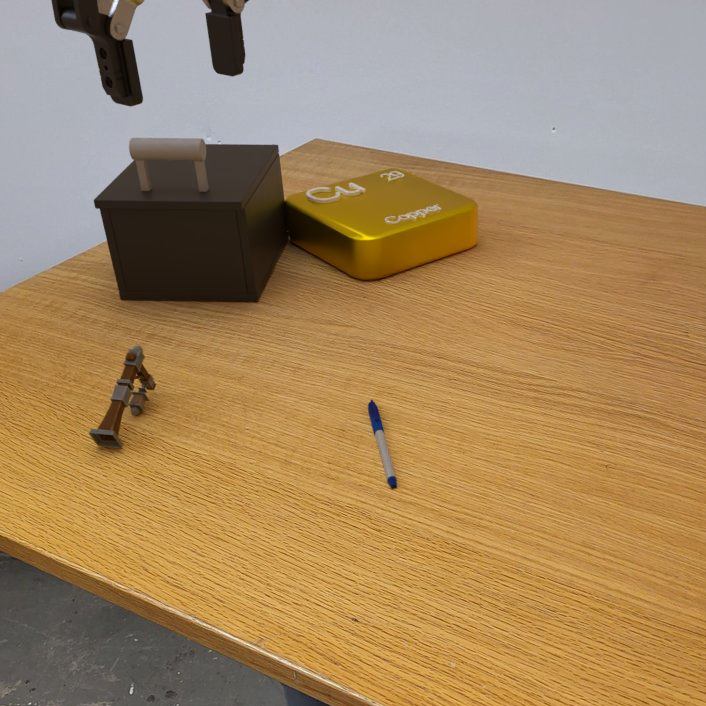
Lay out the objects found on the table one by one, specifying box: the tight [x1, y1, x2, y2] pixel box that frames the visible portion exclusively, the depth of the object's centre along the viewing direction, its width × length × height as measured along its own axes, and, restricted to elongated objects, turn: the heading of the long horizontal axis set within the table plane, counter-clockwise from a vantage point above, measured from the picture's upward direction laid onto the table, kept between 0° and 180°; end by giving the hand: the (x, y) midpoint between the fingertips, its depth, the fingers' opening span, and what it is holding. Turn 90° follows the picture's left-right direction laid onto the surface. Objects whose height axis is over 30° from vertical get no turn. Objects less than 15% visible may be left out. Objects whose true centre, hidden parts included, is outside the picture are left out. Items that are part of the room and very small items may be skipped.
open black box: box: [99, 153, 290, 303], centre depth 88 cm, size 15×13×9 cm
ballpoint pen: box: [367, 399, 398, 490], centre depth 66 cm, size 10×1×1 cm, turn 13°
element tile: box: [284, 167, 479, 281], centre depth 94 cm, size 15×15×5 cm
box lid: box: [93, 137, 280, 210], centre depth 83 cm, size 15×13×5 cm
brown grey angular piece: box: [87, 345, 157, 449], centre depth 68 cm, size 2×8×4 cm, turn 171°
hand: (180, 88), depth 60 cm, fingers open, 8 cm apart
